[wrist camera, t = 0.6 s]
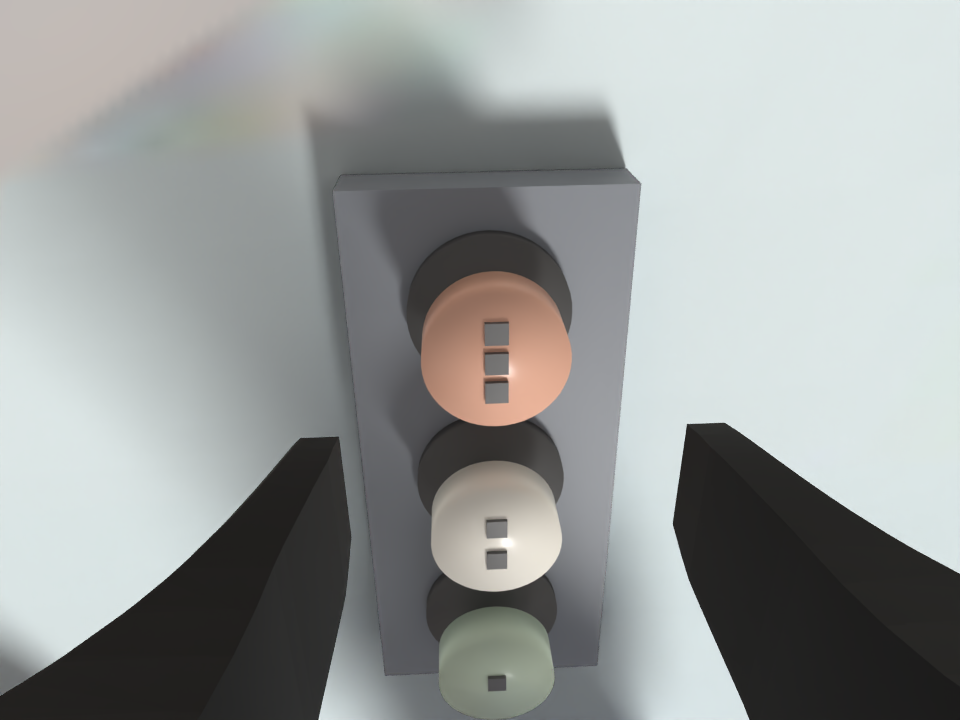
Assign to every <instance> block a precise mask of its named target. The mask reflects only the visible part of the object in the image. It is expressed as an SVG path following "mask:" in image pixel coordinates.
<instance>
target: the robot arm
mask: <svg viewBox="0 0 960 720" xmlns="http://www.w3.org/2000/svg"><path fill="white" fill-rule="evenodd" d="M673 526H674V530H675V534H676V537H677V541H678V545H679V548H680V552H681V555H682V559H683V562H684V565H685V569H686V572H687V575H688V579H689V581H690V584H691V586H692V588H693V591H694V593H695V595H696V598H697V600H698V602H699V605H700V607H701V609H702V612H703V614H704V616H705V618H706V621H707V623H708V625H709V628H710V630H711V632H712V634H713V637H714V639H715V641H716V643H717V646H718V648H719V650H720V652H721V655H722V657H723V659H724V661H725V664H726V666H727V668H728V670H729V673H730V675H731V677H732V680H733V682H734V684H735V686H736V689H737V691H738V693H739V695H740V698H741V700H742V702H743V704H744V707H745V709H746V712H747V715H748V717H749V720H960V574H959V573H957V572H955V571H953V570H952V569H950V568H948V567H946V566H944V565H942V564H940V563H939V562H937V561H935V560H933V559H931V558H929V557H927V556H926V555H924V554H922V553H920V552H918V551H916V550H914V549H913V548H911V547H909V546H907V545H906V544H904V543H902V542H901V541H899V540H897V539H895V538H894V537H892V536H890V535H889V534H887V533H885V532H884V531H882V530H881V529H879V528H877V527H876V526H874V525H873V524H871V523H869V522H868V521H866V520H865V519H863V518H861V517H860V516H858V515H857V514H855V513H853V512H852V511H850V510H849V509H847V508H846V507H844V506H843V505H841V504H840V503H838V502H837V501H835V500H834V499H832V498H831V497H829V496H828V495H826V494H825V493H823V492H822V491H821V490H819V489H818V488H816V487H815V486H813V485H812V484H810V483H809V482H808V481H806V480H805V479H803V478H802V477H801V476H799V475H798V474H796V473H795V472H794V471H792V470H791V469H789V468H788V467H787V466H785V465H784V464H782V463H781V462H780V461H778V460H777V459H776V458H774V457H773V456H771V455H770V454H769V453H767V452H766V451H765V450H763V449H762V448H760V447H759V446H758V445H756V444H755V443H754V442H752V441H751V440H749V439H748V438H747V437H745V436H744V435H742V434H741V433H739V432H738V431H737V430H735V429H734V428H732V427H730V426H729V425H727V424H726V423H707V424H687V428H686V435H685V442H684V449H683V456H682V463H681V470H680V477H679V484H678V491H677V498H676V505H675V512H674V519H673ZM350 546H351V531H350V523H349V515H348V507H347V498H346V490H345V482H344V474H343V466H342V458H341V450H340V442H339V437H321V438H300V439H299V440H298V441H297V442H296V443H295V444H294V445H293V446H292V447H291V449H290V450H289V451H288V452H287V453H286V454H285V456H284V457H283V458H282V459H281V460H280V461H279V463H278V464H277V465H276V466H275V467H274V469H273V470H272V471H271V472H270V473H269V474H268V476H267V477H266V478H265V479H264V480H263V481H262V482H261V484H260V485H259V486H258V487H257V488H256V489H255V491H254V492H253V493H252V494H251V495H250V496H249V497H248V498H247V499H246V500H245V501H244V503H243V504H242V505H241V506H240V507H239V508H238V509H237V510H236V511H235V512H234V513H233V515H232V516H231V517H230V518H229V519H228V520H227V521H226V522H225V523H224V524H223V525H222V526H221V527H220V528H219V529H218V530H217V531H216V532H215V533H214V534H213V535H212V536H211V537H210V538H209V539H208V540H207V541H206V542H205V543H204V544H203V545H202V546H201V547H200V548H199V549H198V550H197V551H196V552H195V553H194V554H193V555H192V556H191V557H190V558H189V559H188V560H187V561H186V562H184V563H183V564H182V565H181V566H180V567H179V568H178V569H177V570H176V571H175V572H173V573H172V574H171V575H170V576H169V577H168V578H167V579H165V580H164V581H163V582H162V583H161V584H159V585H158V586H157V587H156V588H155V589H153V590H152V591H151V592H150V593H148V594H147V595H146V596H145V597H143V598H142V599H141V600H140V601H139V602H137V603H136V604H135V605H134V606H132V607H131V608H130V609H128V610H127V611H126V612H125V613H123V614H122V615H120V616H119V617H118V618H116V619H115V620H113V621H112V622H111V623H109V624H108V625H106V626H105V627H104V628H102V629H101V630H99V631H98V632H97V633H95V634H94V635H92V636H91V637H90V638H88V639H87V640H85V641H84V642H83V643H81V644H80V645H78V646H77V647H76V648H74V649H73V650H71V651H70V652H69V653H67V654H66V655H64V656H63V657H61V658H60V659H58V660H57V661H55V662H54V663H52V664H51V665H49V666H48V667H46V668H44V669H43V670H41V671H40V672H38V673H37V674H35V675H34V676H32V677H30V678H29V679H27V680H26V681H24V682H23V683H21V684H19V685H18V686H16V687H14V688H13V689H11V690H9V691H8V692H6V693H4V694H3V695H1V696H0V720H318V718H319V714H320V709H321V705H322V700H323V696H324V691H325V687H326V682H327V678H328V673H329V669H330V664H331V660H332V655H333V651H334V647H335V642H336V638H337V633H338V628H339V624H340V619H341V615H342V610H343V605H344V600H345V596H346V588H347V578H348V568H349V557H350Z"/></svg>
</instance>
